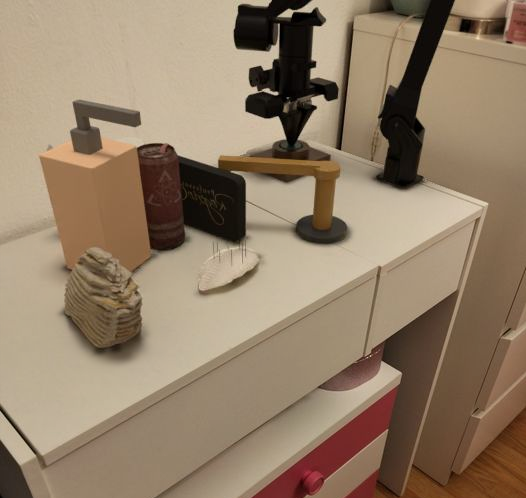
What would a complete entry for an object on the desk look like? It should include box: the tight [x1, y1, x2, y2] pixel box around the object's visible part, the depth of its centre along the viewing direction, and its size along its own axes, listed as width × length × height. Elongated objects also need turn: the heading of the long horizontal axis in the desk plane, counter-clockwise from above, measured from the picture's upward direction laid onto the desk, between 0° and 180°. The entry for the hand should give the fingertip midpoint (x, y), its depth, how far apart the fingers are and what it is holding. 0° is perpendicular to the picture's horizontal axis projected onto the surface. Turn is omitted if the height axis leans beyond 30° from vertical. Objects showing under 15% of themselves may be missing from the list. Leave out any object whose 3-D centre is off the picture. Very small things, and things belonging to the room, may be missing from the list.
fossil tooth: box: [63, 247, 143, 349], centre depth 64 cm, size 12×6×15 cm
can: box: [137, 142, 186, 250], centre depth 80 cm, size 6×6×14 cm
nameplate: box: [177, 154, 247, 243], centre depth 85 cm, size 21×2×10 cm, turn 55°
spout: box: [217, 154, 342, 180], centre depth 82 cm, size 18×4×3 cm, turn 83°
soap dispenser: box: [38, 99, 152, 273], centre depth 71 cm, size 13×9×22 cm
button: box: [280, 142, 301, 150], centre depth 105 cm, size 4×4×2 cm
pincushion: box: [198, 234, 260, 292], centre depth 75 cm, size 12×6×6 cm, turn 144°
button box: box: [249, 138, 331, 183], centre depth 106 cm, size 12×10×4 cm
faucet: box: [295, 178, 348, 245], centre depth 84 cm, size 8×8×9 cm
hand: (291, 145), depth 104 cm, fingers closed, pressing on button
